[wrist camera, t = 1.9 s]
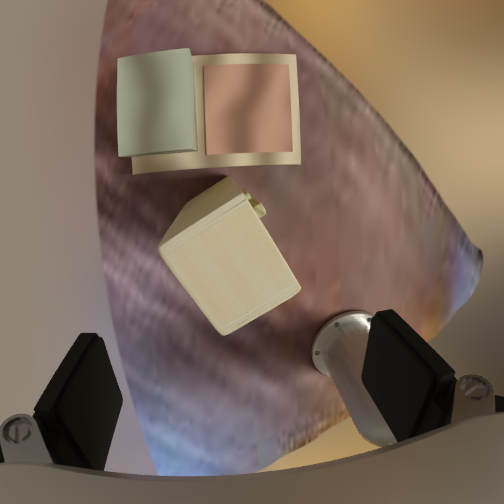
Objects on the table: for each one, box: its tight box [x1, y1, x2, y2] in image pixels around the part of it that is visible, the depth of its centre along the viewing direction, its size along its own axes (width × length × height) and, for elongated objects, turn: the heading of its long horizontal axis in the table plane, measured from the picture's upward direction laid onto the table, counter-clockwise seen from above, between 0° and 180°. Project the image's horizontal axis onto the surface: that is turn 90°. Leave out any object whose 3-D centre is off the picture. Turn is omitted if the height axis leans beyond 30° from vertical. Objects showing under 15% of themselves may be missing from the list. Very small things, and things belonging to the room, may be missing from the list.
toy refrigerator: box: [157, 176, 301, 336], centre depth 30 cm, size 8×7×21 cm
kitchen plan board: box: [117, 48, 301, 175], centre depth 31 cm, size 20×14×11 cm
